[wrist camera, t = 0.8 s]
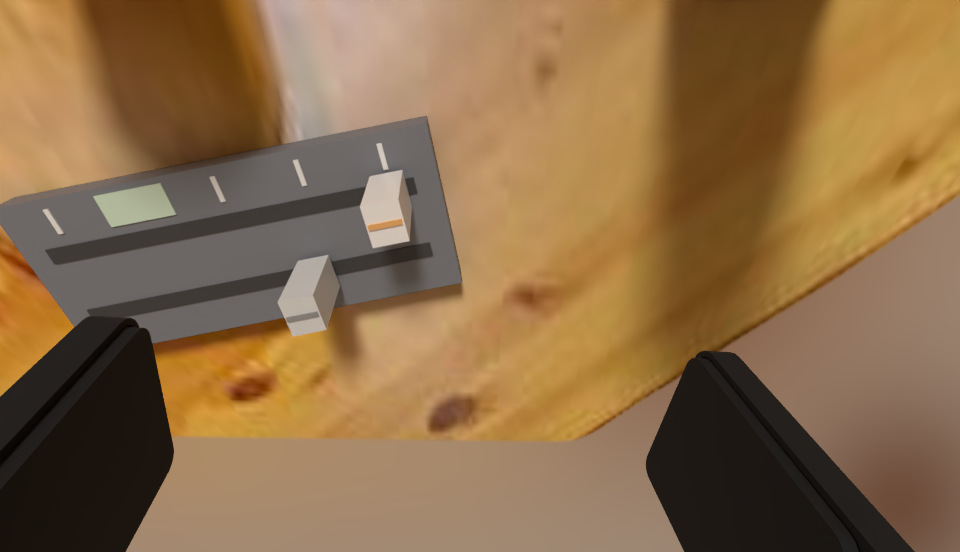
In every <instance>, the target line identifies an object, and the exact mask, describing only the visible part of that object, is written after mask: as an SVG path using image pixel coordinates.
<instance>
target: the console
mask: <svg viewBox="0 0 960 552" xmlns="http://www.w3.org/2000/svg"><path fill="white" fill-rule="evenodd" d="M399 170H403V174H404V177H405V181H406V185H407V189H408V193H409V197H410V201H411V205H412V214H411V228H410V241H407V242H402V243H397V244H392V245H387V246H382V247H377V248H373V247H372V244H371V241H370V238H369V235H368V231H367V228H366V225H365V222H364V219H363V216H362V212H361V209H360V205H361V202H362V198H363V195H364V192H365V189H366V186H367V183H368V180H369V177H370V176H373V175H379V174H384V173H389V172H394V171H399ZM0 225H1V226H2V228H3V229H4V230H5V232H6V233H7V234H8V236H9V237H10V239H11V240H12V241H13V243H14V244H15V246H16V247H17V248H18V250H19V251H20V252H21V254H22V255H23V257H24V258H25V259H26V261H27V262H28V263H29V265H30V266H31V268H32V269H33V270H34V272H35V273H36V274H37V276H38V277H39V279H40V280H41V281H42V283H43V284H44V286H45V287H46V288H47V290H48V291H49V292H50V294H51V295H52V297H53V298H54V299H55V301H56V302H57V303H58V305H59V306H60V308H61V309H62V310H63V312H64V313H65V314H66V316H67V317H68V319H69V320H70V321H71V323H72V324H73V326H74V327H76V326H77V325H78V324H79V323H80V322H81V321H82V320H83V319H85V318H86V317H89V316H107V317H124V318H132V319H135V320H136V322H137V323H138V325H139V328H146V329H147V330H148V331H149V333H150V336H151V340H152V344H153V343H158V342H163V341H169V340H174V339H179V338H184V337H189V336H194V335H199V334H204V333H209V332H214V331H219V330H225V329H230V328H235V327H240V326H245V325H250V324H255V323H260V322H265V321H270V320H275V319H280V318H284V316H283V314H282V311H281V309H280V307H279V305H278V303H277V302H278V300H279V298H280V296H281V294H282V292H283V290H284V288H285V286H286V284H287V282H288V280H289V278H290V276H291V274H292V272H293V270H294V268H295V266H296V264H297V262H298V261H299V260H305V259H310V258H315V257H320V256H325V255H329V258H330V261H331V263H332V266H333V269H334V271H335V274H336V277H337V279H338V282H339V285H340V288H339V291H338V294H337V298H336V301H335V304H334V307H333V308H336V307H341V306H347V305H352V304H357V303H362V302H367V301H372V300H377V299H382V298H387V297H392V296H397V295H403V294H408V293H413V292H418V291H423V290H428V289H433V288H438V287H443V286H448V285H453V284H458V283H462V278H461V269H460V265H459V260H458V256H457V251H456V247H455V242H454V237H453V233H452V228H451V224H450V219H449V215H448V210H447V206H446V201H445V197H444V192H443V187H442V183H441V178H440V174H439V169H438V165H437V160H436V156H435V151H434V147H433V142H432V137H431V133H430V128H429V124H428V119H427V116H424V117H419V118H414V119H409V120H404V121H399V122H394V123H389V124H384V125H379V126H374V127H369V128H364V129H359V130H354V131H348V132H343V133H338V134H333V135H328V136H323V137H318V138H313V139H308V140H303V141H298V142H293V143H288V144H283V145H278V146H273V147H268V148H263V149H257V150H252V151H247V152H242V153H237V154H232V155H227V156H222V157H217V158H212V159H207V160H202V161H197V162H192V163H187V164H182V165H177V166H172V167H166V168H161V169H156V170H151V171H146V172H141V173H136V174H131V175H126V176H121V177H116V178H111V179H106V180H101V181H96V182H91V183H86V184H81V185H75V186H70V187H65V188H60V189H55V190H50V191H45V192H40V193H35V194H30V195H25V196H20V197H15V198H13V199H10V200H8V201H6V202H4V203H2V204H0Z"/></svg>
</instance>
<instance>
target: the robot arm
mask: <svg viewBox="0 0 960 552" xmlns="http://www.w3.org/2000/svg"><path fill="white" fill-rule="evenodd" d="M173 454H174V448H173V442H172V437H171V433H170V428H169V423H168V418H167V413H166V408H165V403H164V398H163V394H162V389H161V384H160V379H159V374H158V369H157V364H156V360H155V355H154V350H153V345H152V340H151V336H150V333H149V331H148V330H147V329H146V328H139V325H138V323H137V322H136V320H135V319H132V318H124V317H107V316H89V317H86V318H85V319H83V320H82V321H81V322H80V323H79V324H78V325H77V326H76V327H74V328H73V329H72V330H71V331H70V332H69V333H68V334H67V335H66V336H65V337H64V338H63V339H62V340H61V341H59V342H58V343H57V344H56V345H55V346H54V347H53V348H52V349H51V350H50V351H49V352H48V353H47V354H46V355H44V356H43V357H42V358H41V359H40V360H39V361H38V362H37V363H36V364H35V365H34V366H33V367H32V368H31V369H30V370H28V371H27V372H26V373H25V374H24V375H23V376H22V377H21V378H20V379H19V380H18V381H17V382H16V383H15V384H13V385H12V386H11V387H10V388H9V389H8V390H7V391H6V392H5V393H4V394H3V395H2V396H1V397H0V552H126V550H127V548H128V546H129V544H130V542H131V540H132V539H133V537H134V535H135V533H136V531H137V529H138V528H139V525H140V524H141V522H142V520H143V518H144V516H145V515H146V513H147V511H148V509H149V507H150V505H151V504H152V502H153V500H154V498H155V496H156V494H157V492H158V490H159V489H160V487H161V485H162V483H163V481H164V479H165V478H166V476H167V473H168V472H169V470H170V467H171V464H172V461H173ZM646 470H647V474H648V477H649V479H650V481H651V483H652V485H653V488H654V490H655V492H656V494H657V496H658V498H659V500H660V502H661V504H662V506H663V508H664V510H665V512H666V515H667V517H668V519H669V521H670V523H671V525H672V527H673V529H674V531H675V533H676V535H677V537H678V540H679V542H680V544H681V546H682V548H683V550H684V552H914V551H913V549H912V548H911V547H910V546H909V545H908V544H907V543H906V542H905V541H904V540H903V538H902V537H901V536H900V535H899V534H898V533H897V532H896V531H895V530H894V528H893V527H892V526H891V525H890V524H889V523H888V522H887V521H886V519H885V518H883V516H882V515H881V514H880V513H879V512H878V511H877V510H876V508H875V507H874V506H873V505H872V504H871V503H870V502H869V501H868V500H867V498H866V497H865V496H864V495H863V494H862V493H861V492H860V491H859V490H858V489H857V487H856V486H855V485H854V484H853V483H852V482H851V481H850V480H849V479H848V477H847V476H846V475H845V474H844V473H843V472H842V471H841V470H840V468H839V467H838V466H837V465H836V464H835V463H834V462H833V461H832V460H831V458H830V457H829V456H828V455H827V454H826V453H825V452H824V451H823V450H822V449H821V447H820V446H819V445H818V444H817V443H816V442H815V441H814V440H813V438H812V437H811V436H810V435H809V434H808V433H807V432H806V431H805V430H804V429H803V427H802V426H801V425H800V424H799V423H798V422H797V421H796V420H795V419H794V417H793V416H792V415H791V414H790V413H789V412H788V411H787V410H786V409H785V407H783V405H782V404H781V403H780V402H779V401H778V400H777V399H776V397H775V396H774V395H773V394H772V393H771V392H770V391H769V390H768V389H767V388H766V387H765V385H764V384H763V383H762V382H761V381H760V380H759V379H758V377H757V376H756V375H755V374H754V373H753V372H752V371H751V370H750V369H749V367H748V366H747V365H746V364H745V363H744V362H743V361H742V360H741V359H740V358H739V357H738V356H737V355H736V354H734V353H731V352H716V351H702V352H700V353H698V354H697V355H696V357H695V358H692V359H691V360H689V361H688V363H687V365H686V367H685V370H684V372H683V374H682V377H681V379H680V381H679V384H678V386H677V388H676V391H675V393H674V395H673V397H672V400H671V402H670V404H669V407H668V409H667V412H666V414H665V416H664V419H663V421H662V423H661V425H660V428H659V430H658V433H657V435H656V437H655V440H654V442H653V444H652V446H651V449H650V451H649V453H648V456H647V459H646Z"/></svg>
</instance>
